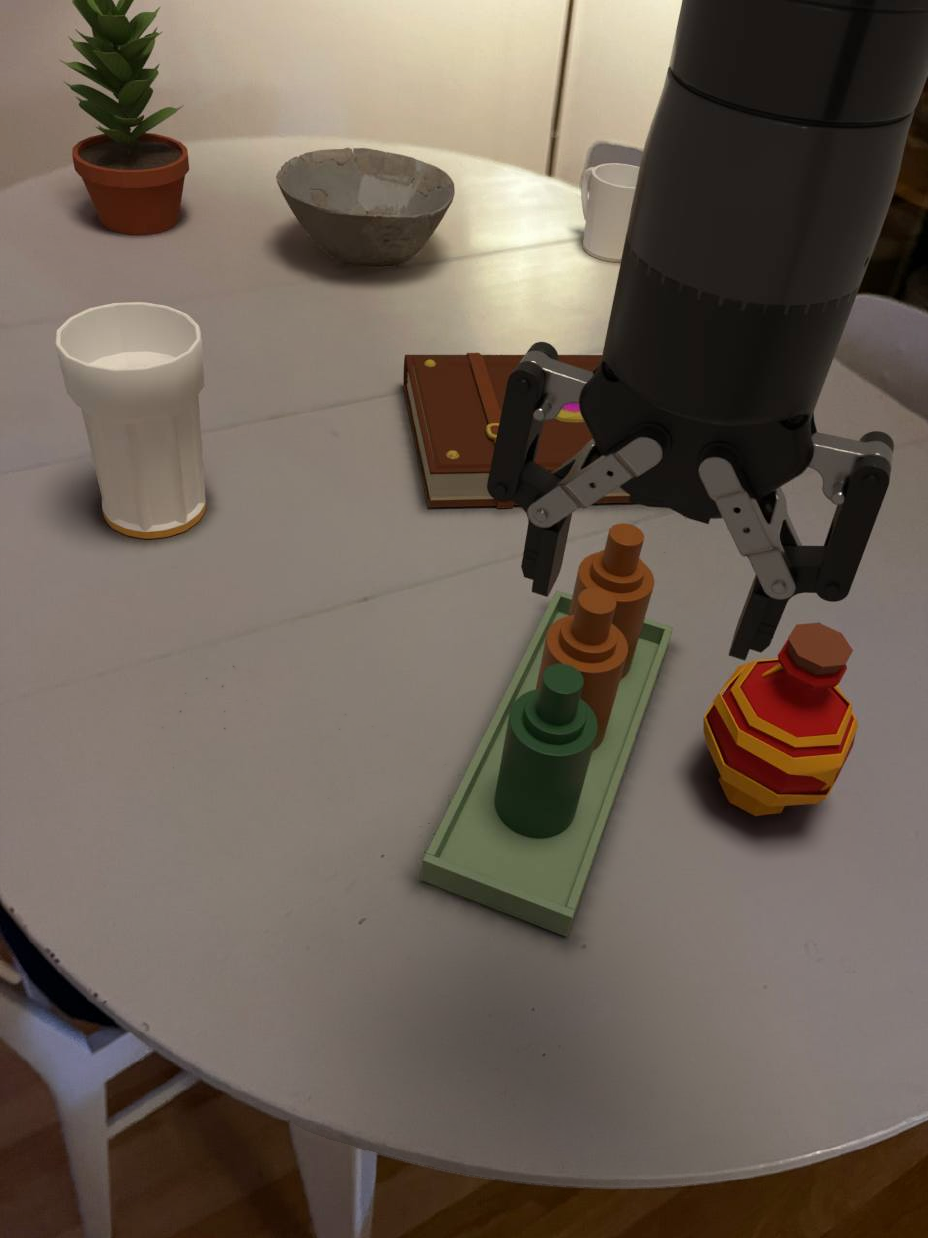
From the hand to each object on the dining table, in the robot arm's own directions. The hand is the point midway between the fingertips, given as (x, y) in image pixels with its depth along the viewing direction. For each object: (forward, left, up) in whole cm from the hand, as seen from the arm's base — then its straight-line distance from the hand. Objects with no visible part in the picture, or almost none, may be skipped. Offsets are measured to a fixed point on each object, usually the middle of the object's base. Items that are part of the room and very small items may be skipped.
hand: (641, 614), depth 43 cm
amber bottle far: (+22, -16, -30) cm, 40 cm away
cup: (+53, +13, -30) cm, 62 cm away
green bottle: (+11, -5, -30) cm, 32 cm away
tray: (+15, -9, -30) cm, 35 cm away
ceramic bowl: (+99, -24, -30) cm, 106 cm away
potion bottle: (+7, -21, -30) cm, 38 cm away
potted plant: (+117, +2, -30) cm, 121 cm away
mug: (+94, -58, -30) cm, 115 cm away
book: (+52, -29, -30) cm, 67 cm away
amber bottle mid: (+16, -10, -30) cm, 35 cm away
